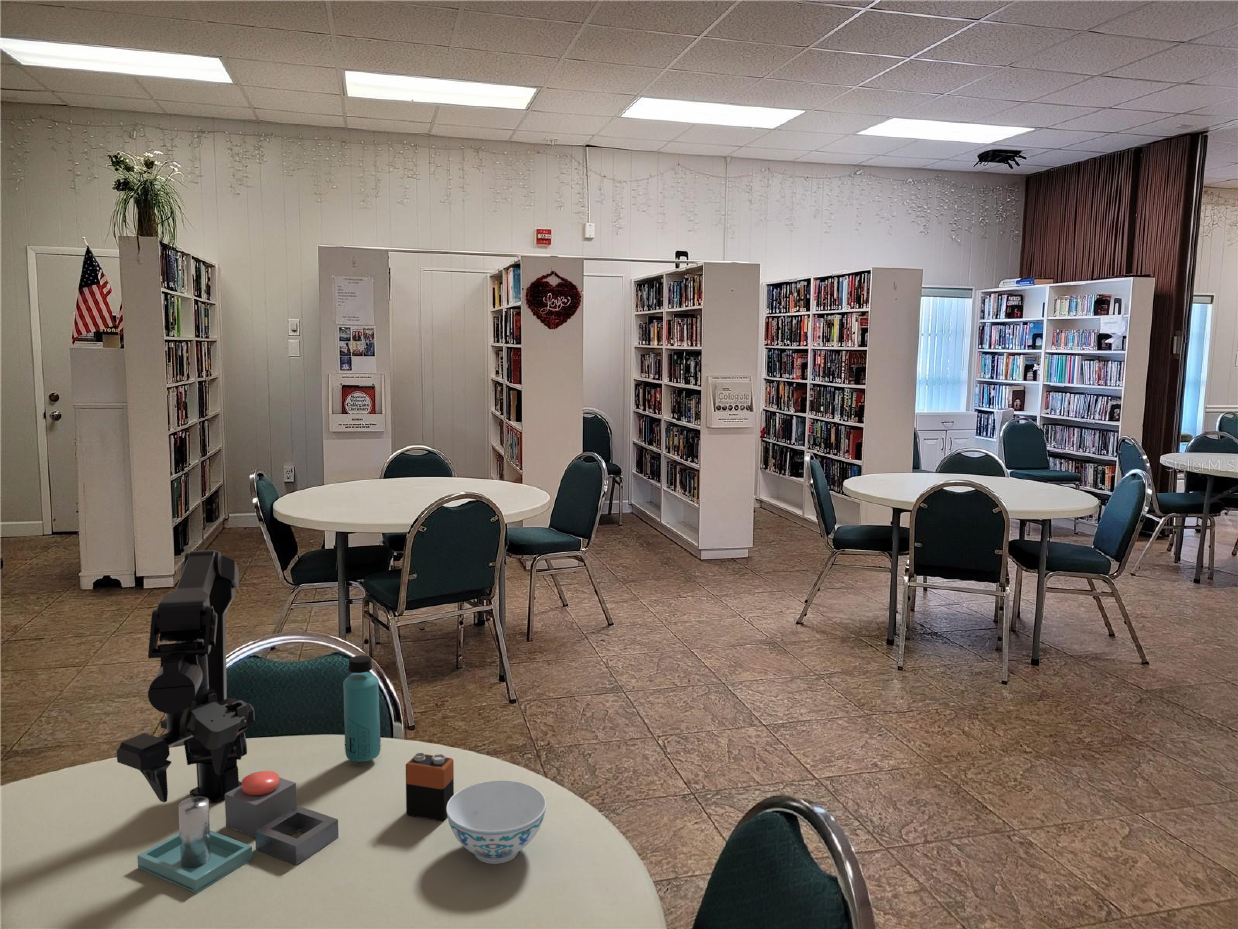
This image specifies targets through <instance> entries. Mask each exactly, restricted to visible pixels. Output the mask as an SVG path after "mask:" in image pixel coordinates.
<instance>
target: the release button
mask: <svg viewBox="0 0 1238 929" xmlns="http://www.w3.org/2000/svg"><path fill="white" fill-rule="evenodd" d="M279 777H280V775H279V774H278V773H277V772H275V771H271V770H270V771H269V770H261V771H257V772H252V773H250V774H248V775H246V776H244V777H243V778H242V780H241V781H240V782H241V783H242V792H243V793H245V794H248V795H255V796H258V797H260V796H262V795H264V794H266V793H269V792H272V791H274V790H275V789H276V788H278V786H279Z"/></svg>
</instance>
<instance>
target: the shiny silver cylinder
mask: <svg viewBox="0 0 1238 929" xmlns="http://www.w3.org/2000/svg"><path fill="white" fill-rule="evenodd" d="M209 803H210V801H209V800H208V798H206V797H203V796H191V797H188V798H185V799H183V800H181V801H180V802H179V803H178V827H179V832H180V856H181V865H182V866H183V867H185V868H196V867H200V866H202V865H204V864H206V863H207V862H209V860H210V858H211V852H210V830H211V828H210V804H209ZM179 832H178V833H179Z"/></svg>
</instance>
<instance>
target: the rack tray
mask: <svg viewBox="0 0 1238 929" xmlns="http://www.w3.org/2000/svg"><path fill="white" fill-rule="evenodd" d="M210 852H211V858H210V860H209V862H207V863H206V864H204V865H202V866H200V867H196V868H185V867H183V866H182V865H181V856H180V832H177V833H176V834H174V835H172V836H170V837H169V838H167V839H165V840H163V841H161V842H159V843H158V844H155V845H154V846H152V847H150V848H149V849H148V848H147V849H146V850H144V851H142V852H141V853H139V854H137V855H136V857H137V868H138V869H139V870H142V871H144V872H146V873H148V874H150V875H154V877H155V876H156V877H157V878H160V879H162V880H165V881H167V882H169V883H171V884H174V885H176V886H179V887H181V888H183V889H185V890H188V891H190V892H191V893H194V894H199V893H200V892H201V891H203V890H204V889H206V888H207V887H210V886H211V885H213V884H215V883H216V882H218V881H219V880H220V879H222V878H224V877H226V876H227V875H229V874H230V873H232V872H233V871H235V870H237V869H238V868H240V867H242V866H243V865H245V864H246V863H248V862H249V861H251V860H252V859H253V846H252V845H250V844H247V843H244V842H242V841H239V840H236V839H233V838H232V837H229V836H226V835H223V834H222V833H219V832H215V831H214V830H211V829H210Z"/></svg>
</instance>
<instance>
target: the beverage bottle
mask: <svg viewBox="0 0 1238 929" xmlns="http://www.w3.org/2000/svg"><path fill="white" fill-rule="evenodd" d="M347 667H348V671H349V672H350V673H351V674H349V675H348V676H347V677H346V678H345V679H344V680H343V683H342V687H343V714H344V716H343V717H344V718H343V719H344V726H343V727H344V740H343V741H344V742H343V743H344V751H345V756H346V758H347V759H348V760H349V761H352V762H359V763H361V762H369V761H371V760H374V759H376V758H377V757H378V756H379V755H380V753H381V750H382V749H381V747H382V743H381V739H382V738H381V736H382V735H381V716H380V701H379V700H380V696H379V694H380V692H379V678H378V677H377V676H376V675H374V674H373V673H371V672H370V671H371V670H372V669H373V663H372V657H371V656H369V655H366V654H365V655H364V654H363V655H362V654H361V655H360V654H359V655H354V656H352V657H350V658H349V660H348V666H347Z"/></svg>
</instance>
